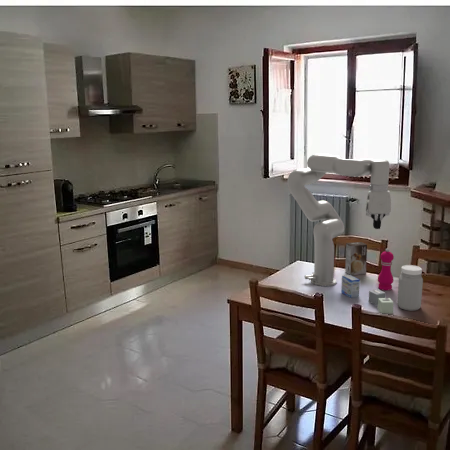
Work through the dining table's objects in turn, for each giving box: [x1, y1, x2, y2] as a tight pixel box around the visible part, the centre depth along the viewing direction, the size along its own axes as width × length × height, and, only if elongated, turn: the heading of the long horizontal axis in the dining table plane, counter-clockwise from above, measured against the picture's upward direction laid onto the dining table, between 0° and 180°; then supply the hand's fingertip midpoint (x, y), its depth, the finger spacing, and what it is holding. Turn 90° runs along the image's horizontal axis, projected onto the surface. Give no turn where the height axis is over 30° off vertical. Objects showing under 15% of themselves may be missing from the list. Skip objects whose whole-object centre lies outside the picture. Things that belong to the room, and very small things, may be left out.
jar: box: [396, 264, 424, 312], centre depth 215 cm, size 10×10×18 cm
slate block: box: [368, 288, 387, 306], centre depth 223 cm, size 5×5×5 cm
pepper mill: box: [377, 248, 395, 291], centre depth 239 cm, size 7×7×20 cm
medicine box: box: [340, 274, 361, 299], centre depth 232 cm, size 8×4×9 cm, turn 23°
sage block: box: [377, 297, 395, 314], centre depth 213 cm, size 5×5×5 cm
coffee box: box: [345, 241, 368, 276], centre depth 262 cm, size 9×6×16 cm
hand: (376, 228), depth 224 cm, fingers closed
